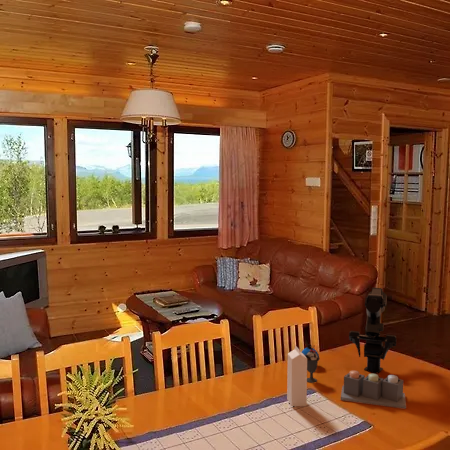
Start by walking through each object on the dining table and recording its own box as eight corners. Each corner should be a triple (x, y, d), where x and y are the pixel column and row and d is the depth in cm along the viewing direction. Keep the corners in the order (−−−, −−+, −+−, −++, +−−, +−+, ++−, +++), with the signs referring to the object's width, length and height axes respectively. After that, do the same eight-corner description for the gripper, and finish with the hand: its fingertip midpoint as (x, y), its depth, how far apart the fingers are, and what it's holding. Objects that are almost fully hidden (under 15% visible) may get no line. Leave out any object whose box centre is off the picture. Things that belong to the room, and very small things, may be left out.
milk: (301, 399, 189) (302, 344, 187) (306, 406, 183) (307, 350, 181) (286, 400, 188) (287, 345, 186) (291, 407, 182) (292, 350, 180)
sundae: (318, 377, 209) (319, 344, 208) (319, 384, 203) (320, 349, 201) (303, 376, 210) (303, 343, 208) (304, 383, 203) (304, 349, 202)
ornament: (319, 363, 226) (320, 342, 225) (317, 370, 217) (317, 348, 216) (301, 361, 228) (301, 340, 227) (298, 367, 220) (298, 346, 219)
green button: (370, 382, 191) (370, 372, 191) (379, 385, 189) (379, 375, 188) (366, 385, 188) (367, 375, 188) (375, 388, 186) (376, 378, 186)
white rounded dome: (389, 383, 190) (390, 374, 189) (399, 386, 188) (399, 376, 187) (386, 387, 187) (386, 377, 187) (395, 389, 185) (395, 379, 184)
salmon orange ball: (351, 379, 194) (352, 369, 194) (360, 381, 192) (360, 372, 192) (347, 382, 191) (348, 372, 191) (356, 384, 189) (356, 375, 189)
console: (342, 388, 199) (343, 369, 198) (404, 396, 191) (405, 376, 191) (340, 400, 188) (341, 380, 187) (405, 408, 181) (406, 388, 180)
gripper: (349, 312, 201) (346, 348, 193) (397, 317, 194) (395, 354, 187) (351, 323, 210) (348, 357, 202) (396, 327, 203) (395, 363, 195)
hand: (371, 358), depth 196 cm, fingers open, 9 cm apart
